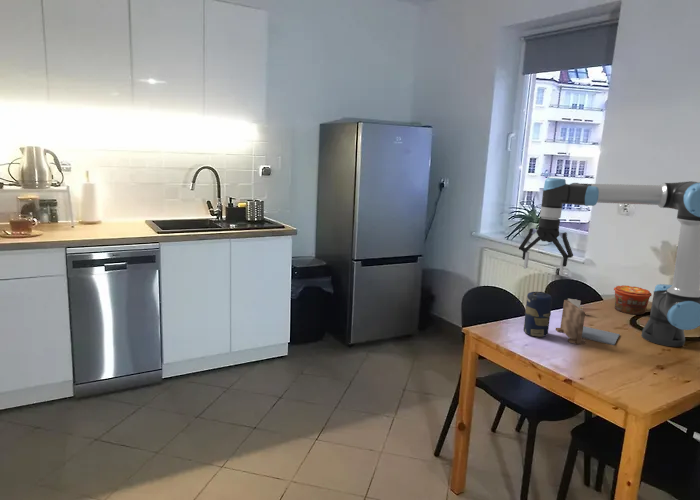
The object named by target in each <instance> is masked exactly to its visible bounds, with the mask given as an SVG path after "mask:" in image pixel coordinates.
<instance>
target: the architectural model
mask: <svg viewBox="0 0 700 500" xmlns="http://www.w3.org/2000/svg"><path fill="white" fill-rule="evenodd" d="M567 300H568V301H570V302H571V303H573V304H574V305H575V306H577V307H578V308H580V309H581V310H582V311H584V307H583V306H581V302H582V301H581V300H578V299H577V298H576V299H573V298H567Z"/></svg>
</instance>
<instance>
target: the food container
mask: <svg viewBox="0 0 700 500" xmlns="http://www.w3.org/2000/svg"><path fill="white" fill-rule="evenodd" d="M613 291H614V309H615V310H616V311H618V312H620V313H624V314H629V315H636V316H638V315H639V316H640V315H641V316H642V315H644V314H646V310H647V307H648V304H649V300H650V298H651V297H653V295H652V292H650V290H648V289H644V288H642V287H639V286H630V285H616V286H615V287H614V288H613Z"/></svg>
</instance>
